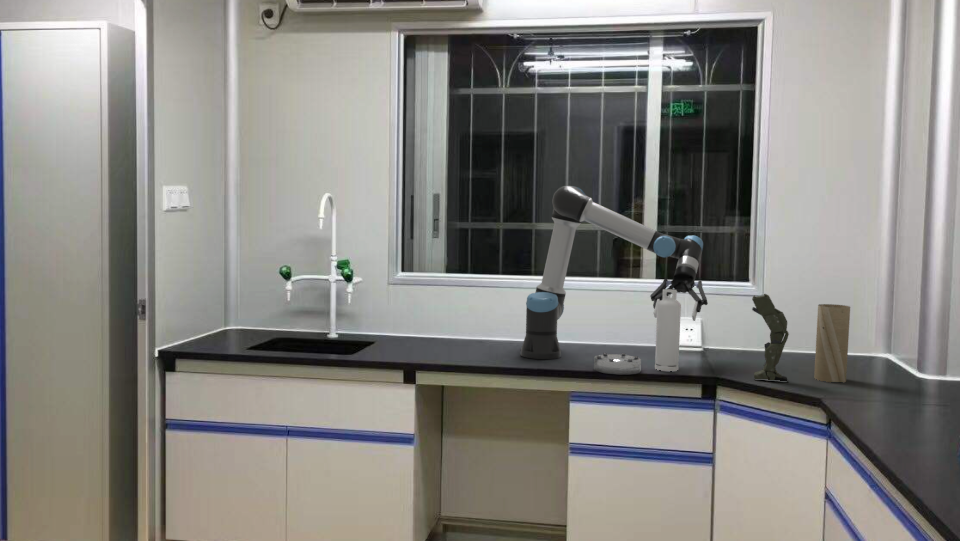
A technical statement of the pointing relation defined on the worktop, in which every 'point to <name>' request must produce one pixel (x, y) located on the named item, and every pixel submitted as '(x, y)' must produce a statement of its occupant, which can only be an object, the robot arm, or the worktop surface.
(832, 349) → the tube
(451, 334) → the worktop surface
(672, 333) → the bottle
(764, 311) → the mechanical leg
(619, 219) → the robot arm
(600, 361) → the flange stand
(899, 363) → the worktop surface
